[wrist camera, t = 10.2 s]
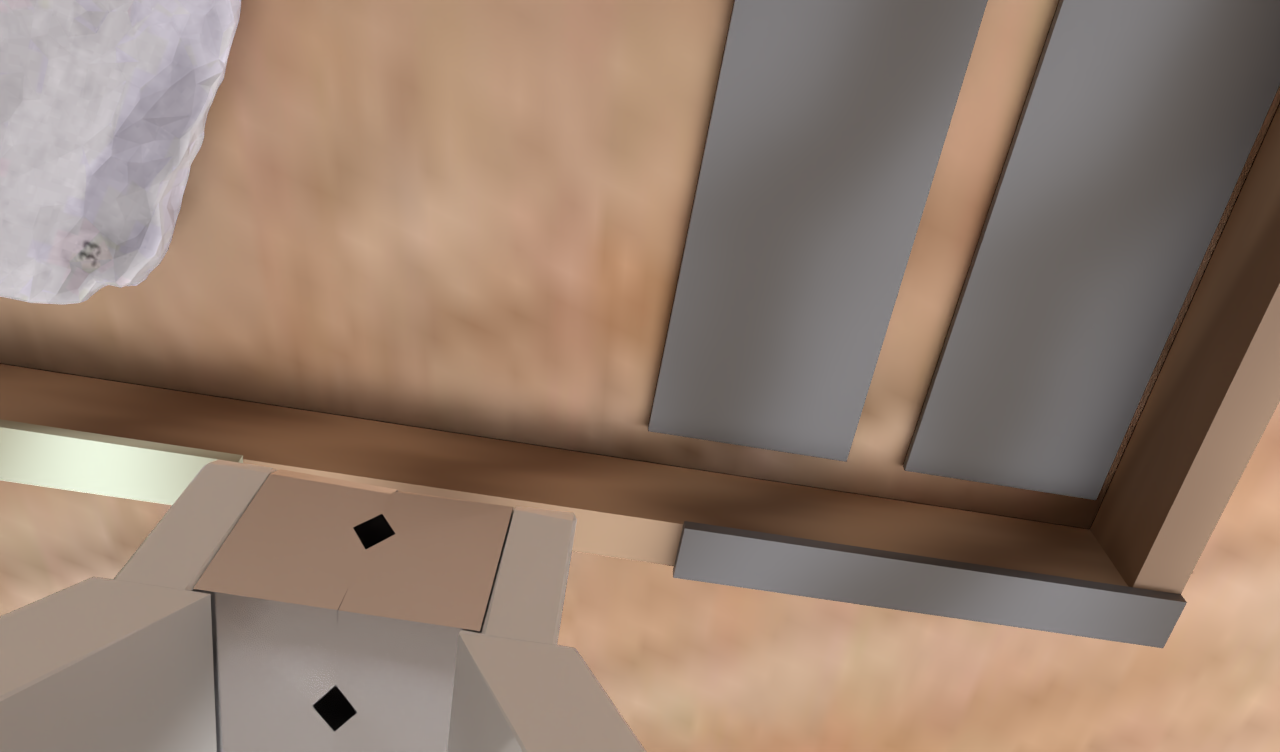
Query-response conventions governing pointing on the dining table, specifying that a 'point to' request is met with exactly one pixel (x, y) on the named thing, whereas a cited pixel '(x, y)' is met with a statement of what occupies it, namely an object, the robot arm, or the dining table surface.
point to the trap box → (878, 329)
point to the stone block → (100, 135)
